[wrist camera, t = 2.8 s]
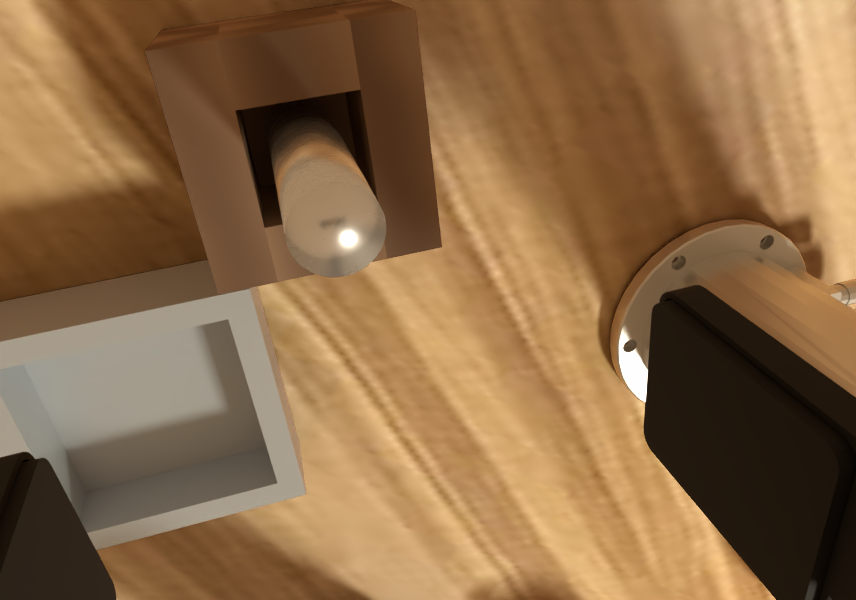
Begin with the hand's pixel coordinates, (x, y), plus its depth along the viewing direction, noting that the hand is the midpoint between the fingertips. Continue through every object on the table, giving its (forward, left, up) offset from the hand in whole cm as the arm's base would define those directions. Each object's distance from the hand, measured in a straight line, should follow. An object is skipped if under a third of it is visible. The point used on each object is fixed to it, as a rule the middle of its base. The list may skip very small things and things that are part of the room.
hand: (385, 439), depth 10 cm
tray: (+9, +12, -22) cm, 27 cm away
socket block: (0, 0, -22) cm, 22 cm away
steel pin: (0, 0, -21) cm, 21 cm away
